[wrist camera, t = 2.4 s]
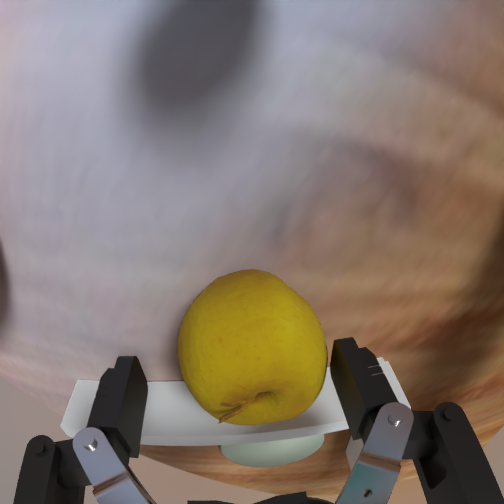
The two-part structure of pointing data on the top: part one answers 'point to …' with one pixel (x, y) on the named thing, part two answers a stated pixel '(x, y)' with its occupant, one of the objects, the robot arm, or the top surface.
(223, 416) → the apple
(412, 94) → the top surface
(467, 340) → the top surface
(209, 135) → the top surface
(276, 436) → the grey corner wall
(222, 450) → the pad
